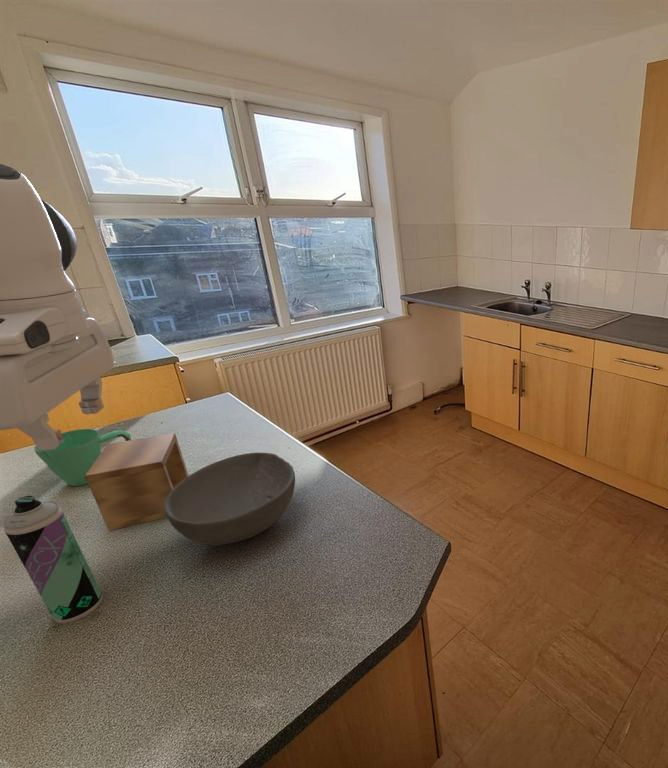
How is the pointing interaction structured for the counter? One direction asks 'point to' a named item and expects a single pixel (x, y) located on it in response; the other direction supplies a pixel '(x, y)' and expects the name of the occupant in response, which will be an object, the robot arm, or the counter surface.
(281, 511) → the bowl
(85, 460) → the mug
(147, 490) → the wooden box
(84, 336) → the robot arm
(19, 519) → the spray can
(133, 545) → the counter surface
